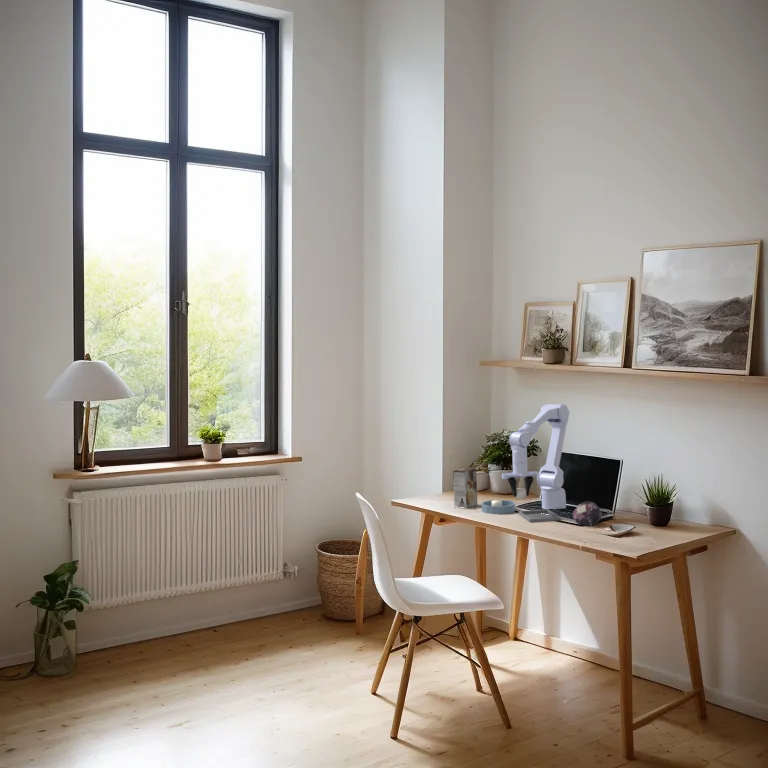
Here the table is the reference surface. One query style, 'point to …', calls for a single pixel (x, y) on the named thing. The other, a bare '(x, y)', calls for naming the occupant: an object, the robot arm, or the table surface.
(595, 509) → the mineral specimen
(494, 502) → the light pebble
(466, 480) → the coffee box
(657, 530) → the table surface
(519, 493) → the cream rounded piece
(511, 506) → the bowl
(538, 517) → the parts tray
